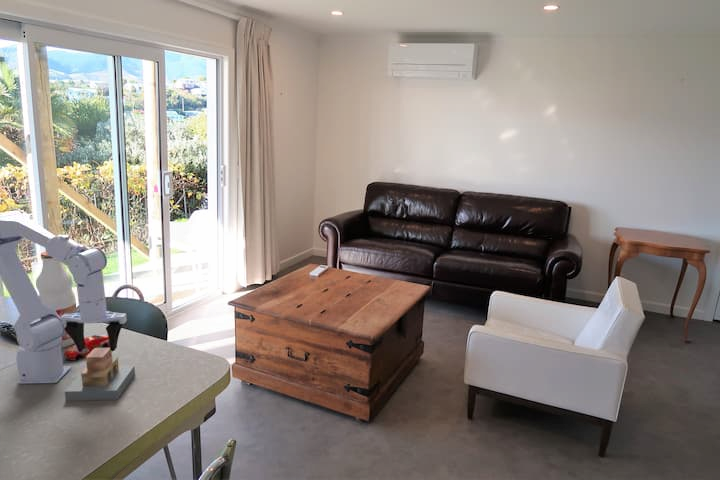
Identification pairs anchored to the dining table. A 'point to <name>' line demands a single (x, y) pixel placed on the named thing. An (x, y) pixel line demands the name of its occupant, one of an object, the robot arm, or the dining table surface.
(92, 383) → the tan boxy piece
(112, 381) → the dock
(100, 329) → the dining table surface
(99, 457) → the dining table surface
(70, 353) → the race car
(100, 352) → the salmon pink block
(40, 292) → the fruit juice
